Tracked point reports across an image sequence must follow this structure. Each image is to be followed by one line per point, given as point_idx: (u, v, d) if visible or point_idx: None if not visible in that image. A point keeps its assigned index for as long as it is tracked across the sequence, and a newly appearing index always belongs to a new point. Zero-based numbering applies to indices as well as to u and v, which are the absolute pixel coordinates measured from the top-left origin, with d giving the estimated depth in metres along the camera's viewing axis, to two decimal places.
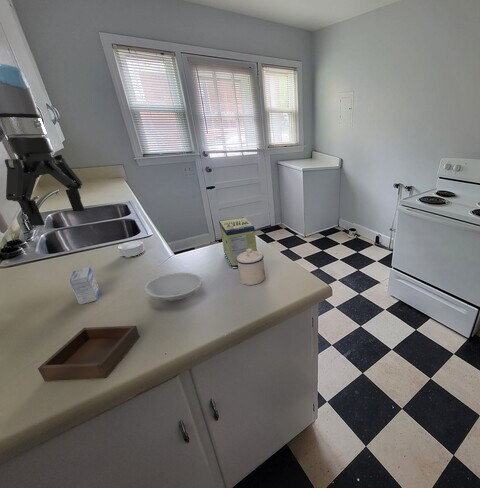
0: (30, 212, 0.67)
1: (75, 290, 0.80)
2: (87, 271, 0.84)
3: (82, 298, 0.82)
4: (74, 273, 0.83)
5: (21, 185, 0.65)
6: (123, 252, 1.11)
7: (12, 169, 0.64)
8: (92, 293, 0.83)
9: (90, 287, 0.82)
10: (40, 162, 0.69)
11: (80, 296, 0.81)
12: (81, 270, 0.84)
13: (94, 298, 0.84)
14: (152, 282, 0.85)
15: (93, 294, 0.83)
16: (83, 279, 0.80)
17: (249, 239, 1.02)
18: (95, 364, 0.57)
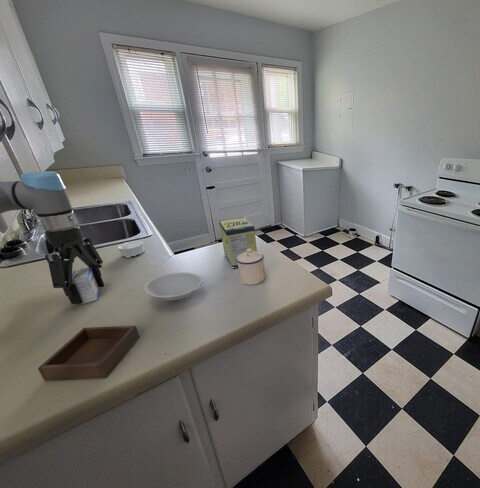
0: (71, 295, 0.79)
1: None
2: (87, 271, 0.84)
3: (82, 298, 0.82)
4: (74, 273, 0.83)
5: (63, 274, 0.76)
6: (123, 252, 1.11)
7: (52, 263, 0.74)
8: (92, 293, 0.83)
9: (90, 287, 0.82)
10: (72, 249, 0.78)
11: (80, 296, 0.81)
12: (81, 270, 0.84)
13: (94, 298, 0.84)
14: (152, 282, 0.85)
15: (93, 294, 0.83)
16: (83, 279, 0.80)
17: (249, 239, 1.02)
18: (95, 364, 0.57)
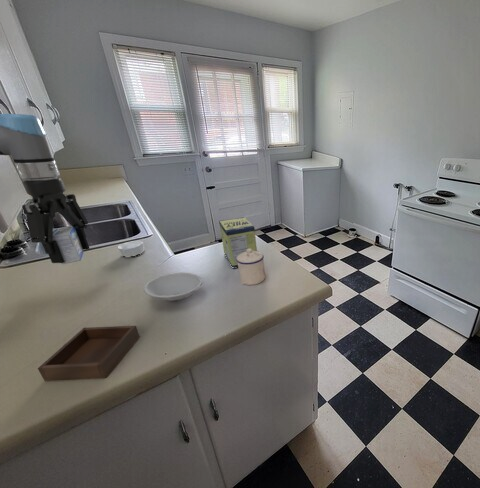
0: (52, 252, 0.73)
1: None
2: (70, 229, 0.78)
3: (64, 257, 0.76)
4: (56, 231, 0.77)
5: (42, 228, 0.70)
6: (123, 252, 1.11)
7: (31, 214, 0.69)
8: (75, 252, 0.77)
9: (73, 246, 0.77)
10: (53, 202, 0.73)
11: None
12: (63, 229, 0.79)
13: (77, 258, 0.78)
14: (152, 282, 0.85)
15: (76, 254, 0.78)
16: (65, 236, 0.75)
17: (249, 239, 1.02)
18: (95, 364, 0.57)
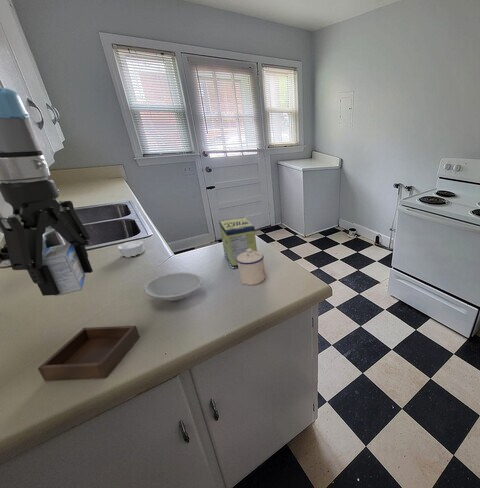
0: (42, 281, 0.53)
1: None
2: (67, 248, 0.58)
3: (59, 286, 0.56)
4: (47, 251, 0.57)
5: (27, 249, 0.50)
6: (123, 252, 1.11)
7: (10, 231, 0.48)
8: (74, 279, 0.57)
9: (71, 271, 0.56)
10: (42, 212, 0.52)
11: None
12: (58, 248, 0.58)
13: (77, 287, 0.58)
14: (152, 282, 0.85)
15: (75, 281, 0.57)
16: (60, 258, 0.55)
17: (249, 239, 1.02)
18: (95, 364, 0.57)
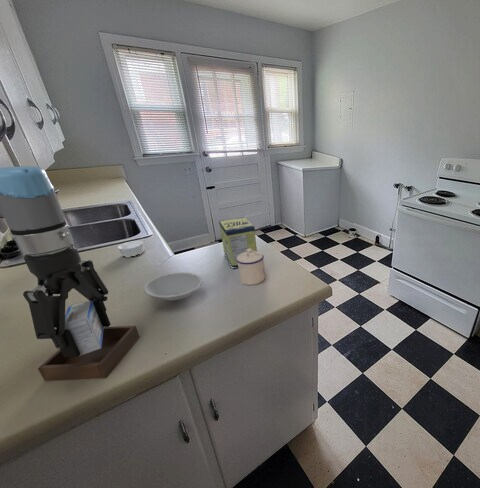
0: (64, 346, 0.54)
1: None
2: (87, 308, 0.59)
3: (80, 347, 0.57)
4: (69, 311, 0.58)
5: (51, 319, 0.51)
6: (123, 252, 1.11)
7: (35, 303, 0.50)
8: (94, 340, 0.58)
9: (91, 332, 0.58)
10: (65, 279, 0.54)
11: (77, 345, 0.57)
12: (78, 307, 0.60)
13: (97, 346, 0.59)
14: (152, 282, 0.85)
15: (96, 341, 0.59)
16: (82, 321, 0.56)
17: (249, 239, 1.02)
18: (95, 364, 0.57)
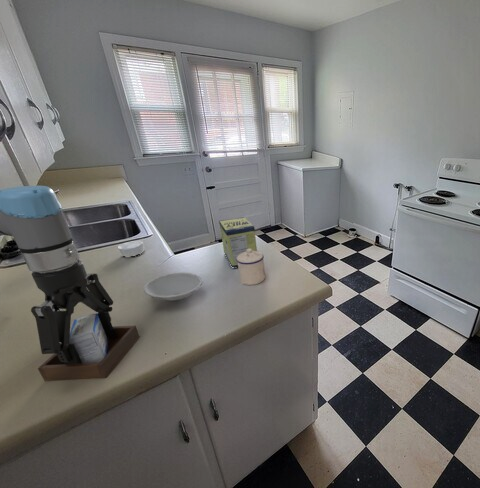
0: (68, 360, 0.55)
1: None
2: (93, 321, 0.61)
3: (86, 360, 0.59)
4: (75, 325, 0.60)
5: (56, 334, 0.52)
6: (123, 252, 1.11)
7: (42, 318, 0.51)
8: (99, 352, 0.60)
9: (97, 345, 0.59)
10: (72, 295, 0.55)
11: (82, 358, 0.58)
12: (84, 320, 0.61)
13: None
14: (152, 282, 0.85)
15: (101, 354, 0.60)
16: (88, 335, 0.57)
17: (249, 239, 1.02)
18: (95, 364, 0.57)
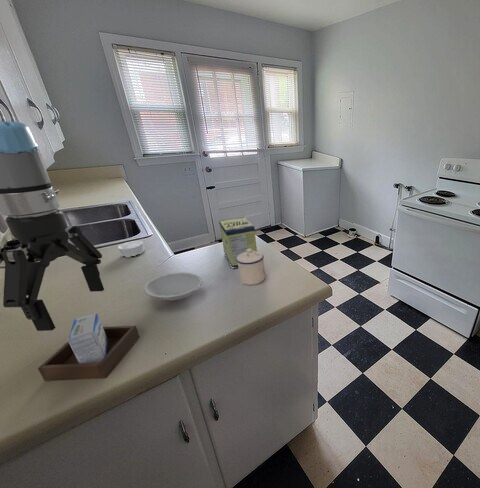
0: (36, 317, 0.49)
1: (76, 351, 0.57)
2: (93, 321, 0.61)
3: (86, 360, 0.59)
4: (75, 325, 0.60)
5: (24, 285, 0.47)
6: (123, 252, 1.11)
7: (12, 264, 0.46)
8: (99, 352, 0.60)
9: (97, 345, 0.59)
10: (50, 246, 0.51)
11: (82, 358, 0.58)
12: (84, 320, 0.61)
13: None
14: (152, 282, 0.85)
15: (101, 354, 0.60)
16: (88, 335, 0.57)
17: (249, 239, 1.02)
18: (95, 364, 0.57)
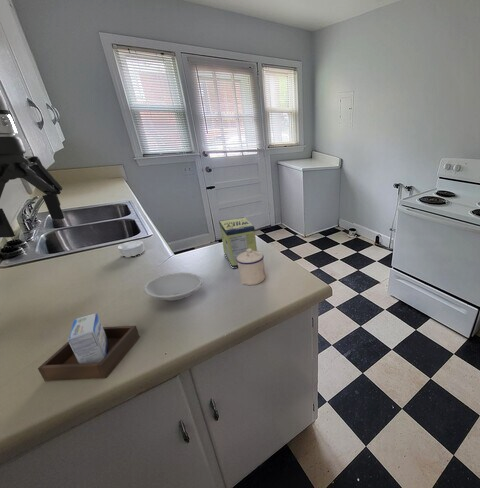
0: None
1: (76, 351, 0.57)
2: (93, 321, 0.61)
3: (86, 360, 0.59)
4: (75, 325, 0.60)
5: None
6: (123, 252, 1.11)
7: None
8: (99, 352, 0.60)
9: (97, 345, 0.59)
10: (10, 165, 0.60)
11: (82, 358, 0.58)
12: (84, 320, 0.61)
13: None
14: (152, 282, 0.85)
15: (101, 354, 0.60)
16: (88, 335, 0.57)
17: (249, 239, 1.02)
18: (95, 364, 0.57)
